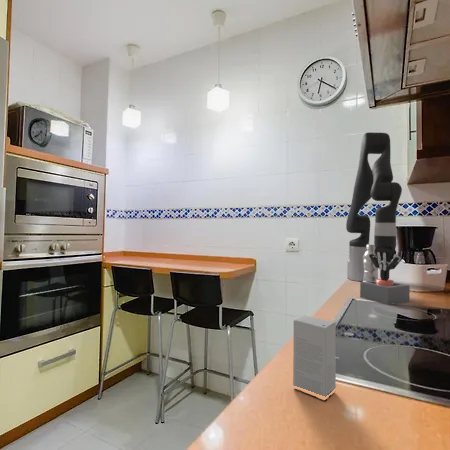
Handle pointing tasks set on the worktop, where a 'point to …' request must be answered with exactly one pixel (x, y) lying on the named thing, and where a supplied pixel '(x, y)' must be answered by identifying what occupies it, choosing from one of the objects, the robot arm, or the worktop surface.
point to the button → (384, 282)
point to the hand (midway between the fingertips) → (384, 279)
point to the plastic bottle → (369, 265)
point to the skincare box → (314, 355)
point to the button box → (385, 292)
